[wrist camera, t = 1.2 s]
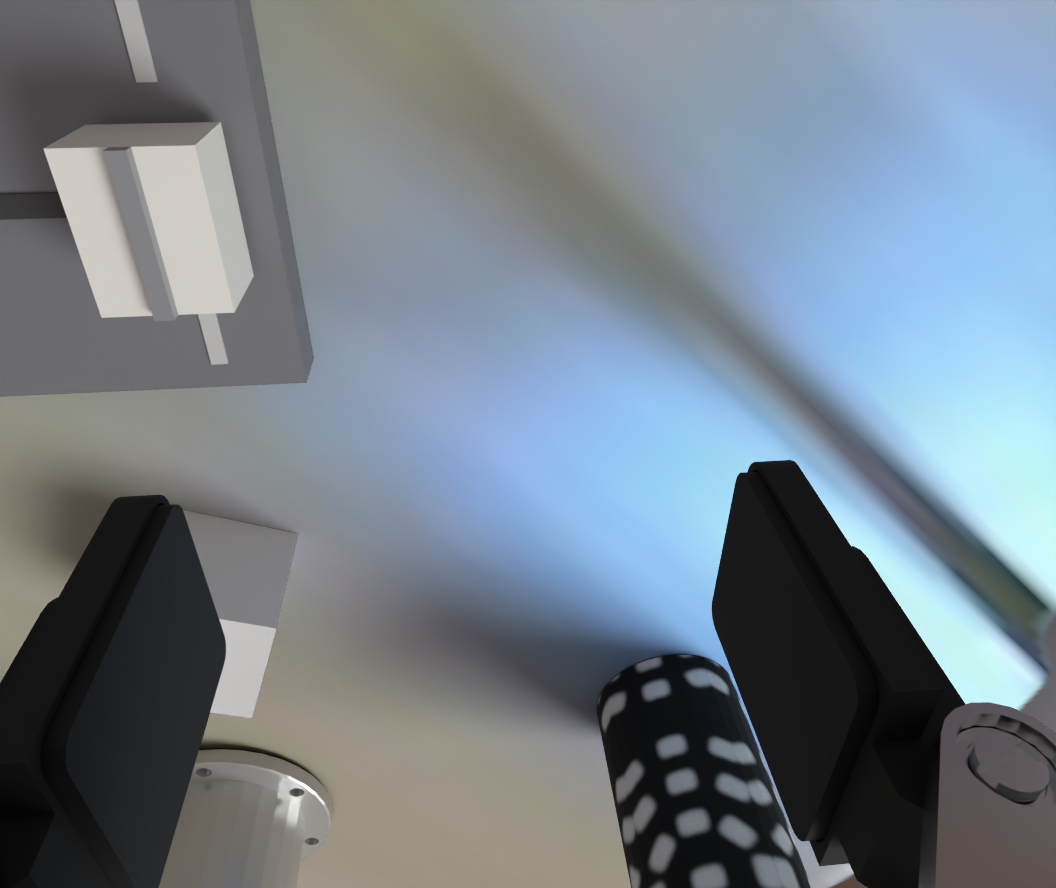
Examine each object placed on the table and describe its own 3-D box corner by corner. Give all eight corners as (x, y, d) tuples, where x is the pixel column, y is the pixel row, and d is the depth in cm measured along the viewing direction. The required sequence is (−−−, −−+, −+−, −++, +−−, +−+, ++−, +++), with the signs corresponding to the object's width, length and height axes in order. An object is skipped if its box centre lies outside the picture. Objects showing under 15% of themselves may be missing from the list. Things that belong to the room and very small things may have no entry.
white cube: (151, 596, 37) (106, 698, 32) (164, 504, 34) (117, 601, 29) (276, 618, 39) (252, 718, 34) (299, 532, 36) (276, 628, 31)
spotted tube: (618, 757, 49) (709, 1183, 32) (578, 680, 44) (660, 1133, 28) (745, 719, 48) (905, 1139, 31) (717, 637, 43) (888, 1080, 26)
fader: (253, 275, 26) (231, 317, 24) (133, 280, 26) (96, 323, 23) (220, 121, 23) (191, 148, 21) (85, 124, 23) (37, 152, 20)
